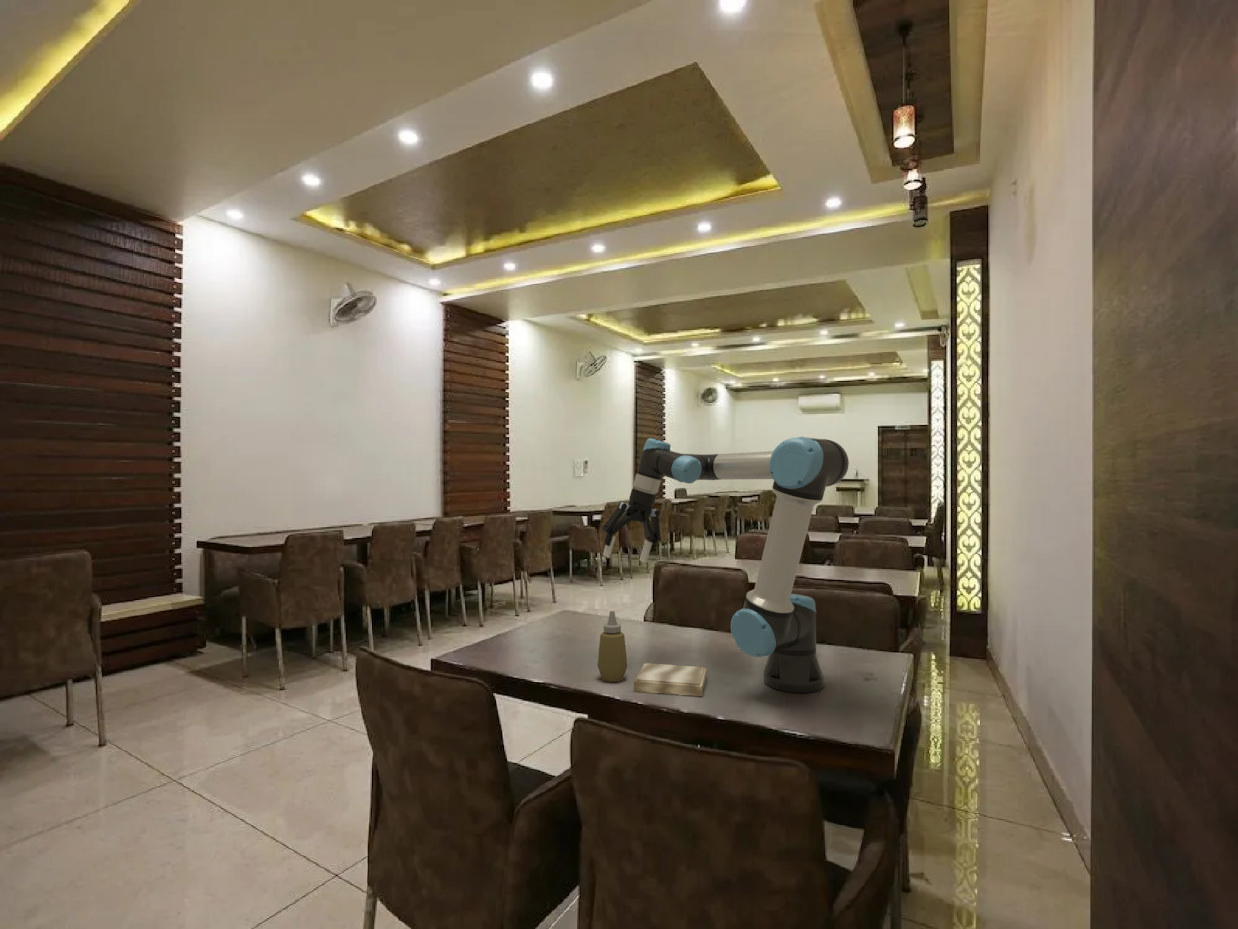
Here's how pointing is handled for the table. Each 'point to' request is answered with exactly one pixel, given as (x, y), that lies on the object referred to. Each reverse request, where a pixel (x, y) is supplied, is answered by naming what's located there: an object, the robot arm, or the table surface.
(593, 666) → the table surface
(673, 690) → the stand
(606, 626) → the squeeze bottle
